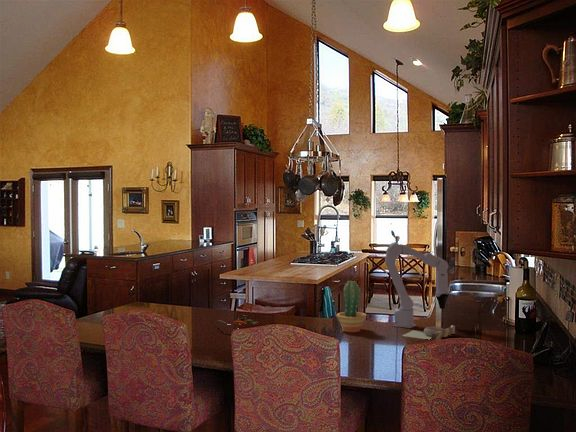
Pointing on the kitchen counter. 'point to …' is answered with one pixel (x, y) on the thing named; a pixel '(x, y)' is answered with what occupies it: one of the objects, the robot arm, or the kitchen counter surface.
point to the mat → (417, 335)
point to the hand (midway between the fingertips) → (442, 308)
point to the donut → (432, 330)
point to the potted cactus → (351, 308)
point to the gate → (442, 333)
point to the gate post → (453, 329)
